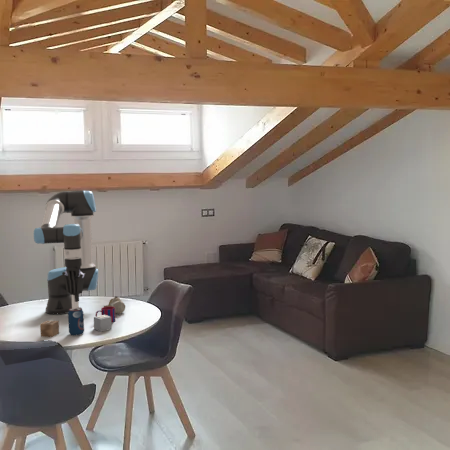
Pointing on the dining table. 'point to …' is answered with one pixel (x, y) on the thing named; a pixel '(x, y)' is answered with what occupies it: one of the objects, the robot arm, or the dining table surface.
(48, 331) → the walnut numbered block
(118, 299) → the ceramic sculpture
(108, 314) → the mug
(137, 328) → the dining table surface
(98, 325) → the slate numbered block
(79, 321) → the soda can
